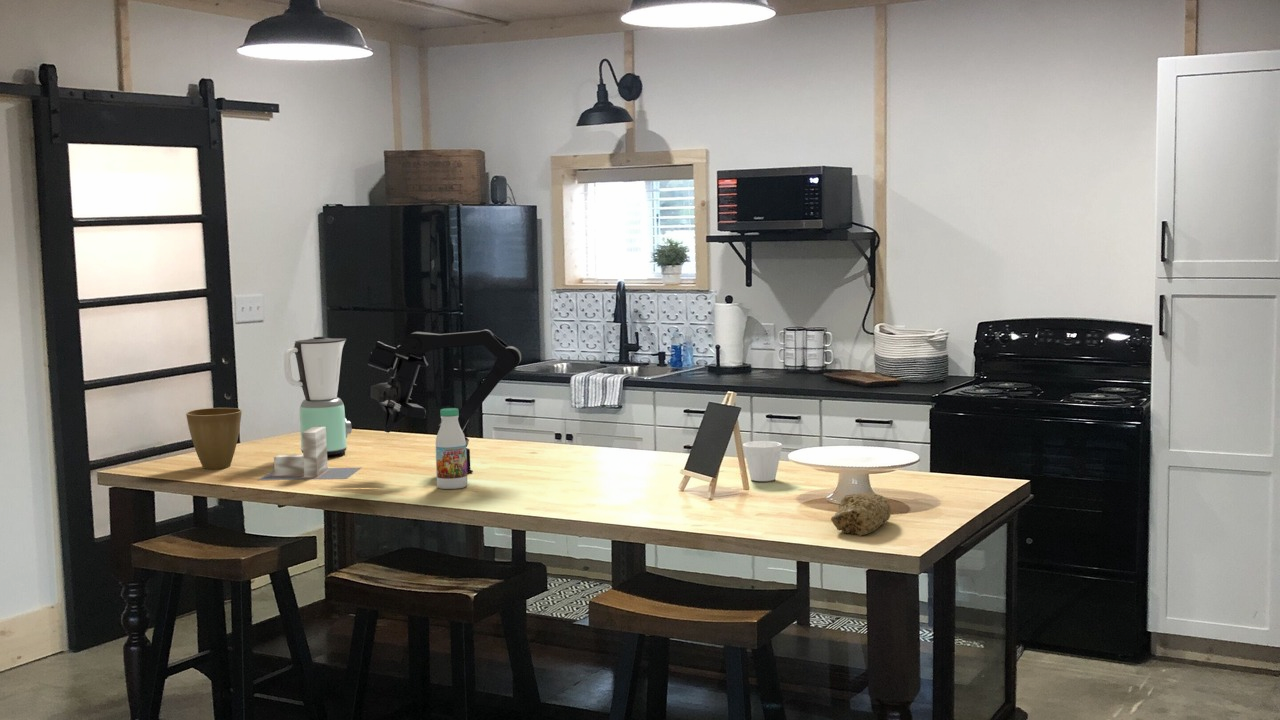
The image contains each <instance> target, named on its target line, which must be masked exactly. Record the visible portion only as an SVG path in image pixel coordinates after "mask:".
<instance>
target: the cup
mask: <svg viewBox="0 0 1280 720" xmlns="http://www.w3.org/2000/svg"><path fill="white" fill-rule="evenodd" d="M742 449H743V452H744V457H745V460H746V464H747V469H748V472H749V473H748V474H749V478H750V481H752V482H755V483H771V482H774V481H775V480H776V478H777V473H778V468H779V463H780V459H781V454H782V450H783V444H782V442H778V441H774V440H755V441H753V440H752V441H747V442H744V443H743V444H742Z"/></svg>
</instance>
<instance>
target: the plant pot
mask: <svg viewBox="0 0 1280 720" xmlns="http://www.w3.org/2000/svg"><path fill="white" fill-rule="evenodd" d="M242 412H243V411H242V409H240V408H236V407H213V408H212V407H211V408H210V407H209V408H208V407H207V408H200V409H199V408H198V409H193V410H189V411H186V412H185V415H186V420H187V426H188V429H189V433H190V437H191V440H192V444H193V446H194V449H195V453H196V455H197V457H198V460H199V463H200V464H201V466H202V468H203V469H206V470H218V469H226V468H229V467H231V465H232V461H233V458H234V456H235V451H236V448H237V444H238V439H239V434H240V428H241V422H242V421H241V419H242Z"/></svg>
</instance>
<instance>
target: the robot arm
mask: <svg viewBox="0 0 1280 720" xmlns="http://www.w3.org/2000/svg"><path fill="white" fill-rule="evenodd" d="M469 346H483V347H484V348H486V349H487V350H488V351H489V352H490V353H491V354H492V355H493V356H494V357H495V358H496V359H495V362H494V363H493V366H492V367H491V369H490V371H489V373H488V374H487V376H486V377H485V378H484V379H483V380H482V381H481V383H480V384H479V385H478V387H477V388H476V389H475V390H474V392H473V393H472V394H471V395H470V396H469V398H468V399H467V400H466V401H465V403H464V404H463V405H462V407H460V408H459V409H458V410H459V417H458V422H459V425H460V428H461V430H462V432H463V431H464V430H465V428H466V426H467V424H468V422H469V420H470V419H471V417H472V416H473V415H474V414H475V412H476V411H477V410H478V409H479V407H481V405H482V404H483V403H484V401H485V400H486V399H487V398H488V397H489V395H490V394H491V393H492V392H493V390H494V389H495V388H496V387H497V386H498V384H499V383H500V381H502V380H504V378H505V377H506V376H508V375H510V373H511V372H512V371H514V370H515V369H516V368H517V367H518V366H519V364H520V363H521V361H522V352H521V351H520V350H519V349H518V348H517V347H515V346H512V345H509V344H507V343H506V342H504V341H503V340H502V339H500V338H499V336H498V337H497V335H496V334H494V333H493V332H492V331H491V330H489V329H486V328H485V329H482V330H474V331H473V330H472V331H462V332H460V331H459V332H451V333H450V332H449V333H435V332H434V333H433V332H427V331H426V332H425V331H414V332H412V333H410V334H408V335H406V337H405V339H404V341H403V343H402V344H399V345H397V346H396V347H394V346H391V345H388V344H385V343H384V342H382V341H376V342H375V345H374V347H373V348H372V350H371V352H370V353H369V357H368V361H367V365H368V366H370V367H373V368H376V369H379V370H381V371H386V372H389V371H390V370H394V369H395V368H396V369H395V371H394V374H393V376H389V377H388V379H387V381H386V382H381V383H376V384H373V385H371V386H370V387H368V389H367V392H366V395H367V396H369V397H370V398H371V399H374V400H376V401H377V402H378V404H379V405H380V407H381V408H382V410H383V414H384V415H383V416H384V417H383V419H384V420H383V421H384V423H383V424H384V426H383V427H384V429H383V430H384V432H385V433H388V434H389V433H390V432H392V430H393V429H394V428H395V427H396V426H398V424H400V422H401V421H402V420H403V419H404V418H405V417H409V418H414V419H423V420H424V419H425V418H426V415H427V411H426V408H424V407H423V406H421V405H419V404H418V403H412V402H413V398H410V397H411V394H412V391H413V389H417V386H418V384H416V383H415V382H416V379H417V377H418V373H419V369H420V367H424V368H427V366H428V367H429V363H428V362H427V361H428V360H426V356H424V355H423V356H422V357H418V355H420V354H421V355H422V354H423V353H428V352H431V351H435V350H438V349H445V348H447V349H449V348H457V347H458V348H459V347H469ZM406 354H409V356H405V355H406ZM416 355H417V356H416ZM397 362H398V363H397ZM396 365H397V366H396ZM440 426H441V422H440V423H439V424H438V425H437V428H438V430H437V432H436V435H437V434H438V432H439V429H440ZM463 433H464V432H463ZM465 441H466V455H467V474H471V473H473V470H472V469H471V450H470V449H471V448H468V445H469V441H470V439H469V438H468V437H466V436H465Z"/></svg>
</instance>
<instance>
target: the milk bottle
mask: <svg viewBox="0 0 1280 720" xmlns="http://www.w3.org/2000/svg"><path fill="white" fill-rule="evenodd" d="M439 410H440V411H439V412H440V418H441V419H440V423H441V426H440V428H438V430H439V432H438V431H437V432H438V434H437V433H436V438H435V468H436V469H435V470H436V486H437V488H438V489H442V490H458V489H463V488H466V487H467V486H468V484H469V483H468V473H467V455H466V448H467V447H466V441H465V437H466V436H465V433H464V432H462V430H461V428H460V425H459V422H458V417H459V410H460V409H459V408H457V407H446V408H441V409H439Z"/></svg>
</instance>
